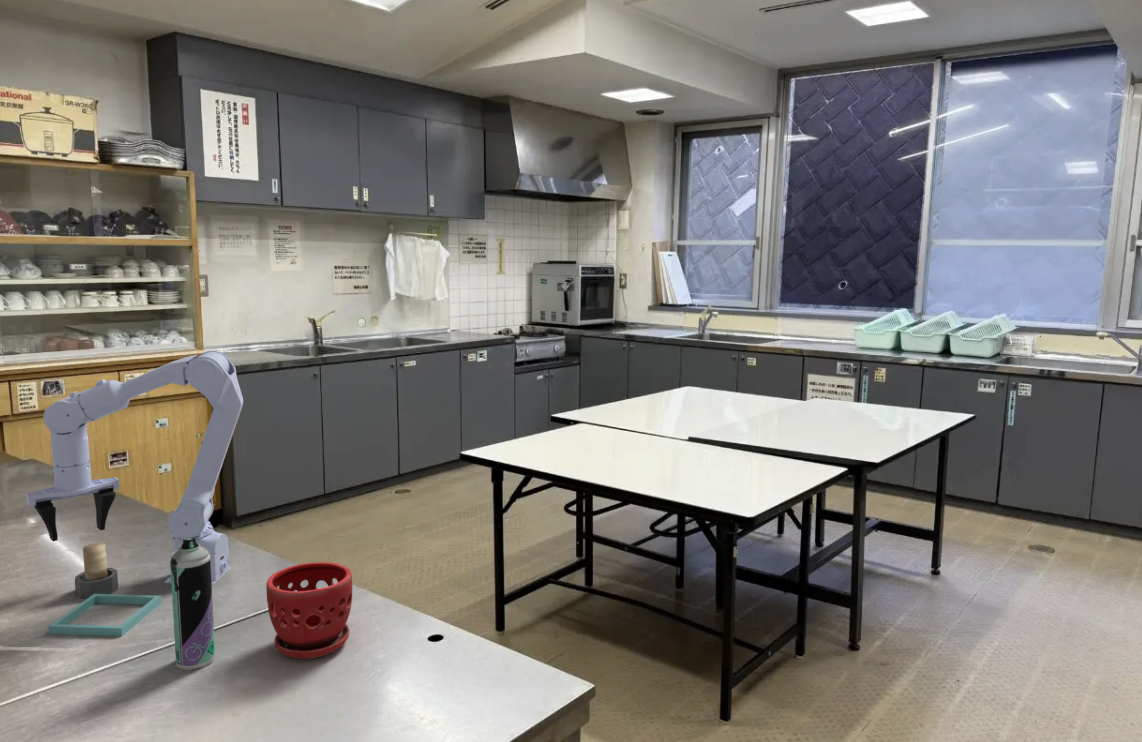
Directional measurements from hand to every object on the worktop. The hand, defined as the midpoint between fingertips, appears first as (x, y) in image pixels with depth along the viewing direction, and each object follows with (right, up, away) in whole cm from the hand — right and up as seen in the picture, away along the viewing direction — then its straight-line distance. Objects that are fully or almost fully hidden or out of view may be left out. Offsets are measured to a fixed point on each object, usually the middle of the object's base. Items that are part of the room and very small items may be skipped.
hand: (77, 534), depth 142 cm
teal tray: (+12, -12, -11) cm, 21 cm away
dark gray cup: (+4, -11, -1) cm, 12 cm away
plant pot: (+49, -15, -17) cm, 54 cm away
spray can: (+33, -15, -23) cm, 43 cm away
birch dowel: (+4, -10, -1) cm, 11 cm away
